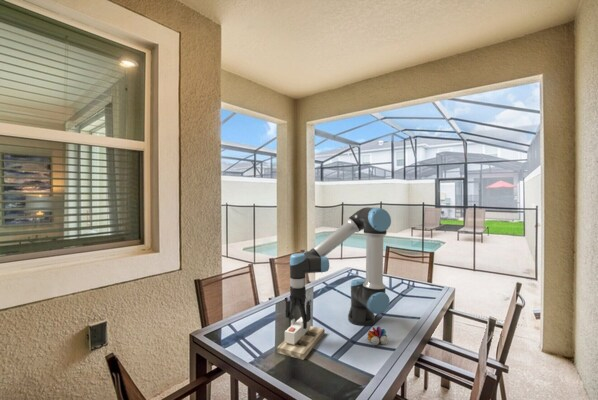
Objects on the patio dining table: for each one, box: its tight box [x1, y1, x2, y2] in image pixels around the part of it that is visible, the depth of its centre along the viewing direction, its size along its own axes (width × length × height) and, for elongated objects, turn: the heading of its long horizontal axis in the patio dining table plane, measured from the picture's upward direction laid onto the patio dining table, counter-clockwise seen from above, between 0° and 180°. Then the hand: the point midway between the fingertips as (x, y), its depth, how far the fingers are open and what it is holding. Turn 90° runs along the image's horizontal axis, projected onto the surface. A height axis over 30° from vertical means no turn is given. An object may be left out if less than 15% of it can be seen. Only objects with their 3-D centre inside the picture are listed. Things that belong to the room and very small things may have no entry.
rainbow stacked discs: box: [367, 326, 389, 346], centre depth 135 cm, size 8×10×7 cm
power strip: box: [284, 316, 311, 345], centre depth 136 cm, size 5×18×8 cm, turn 154°
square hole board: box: [276, 325, 326, 360], centre depth 135 cm, size 13×26×2 cm, turn 154°
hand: (298, 333), depth 136 cm, fingers closed on power strip, 5 cm apart
